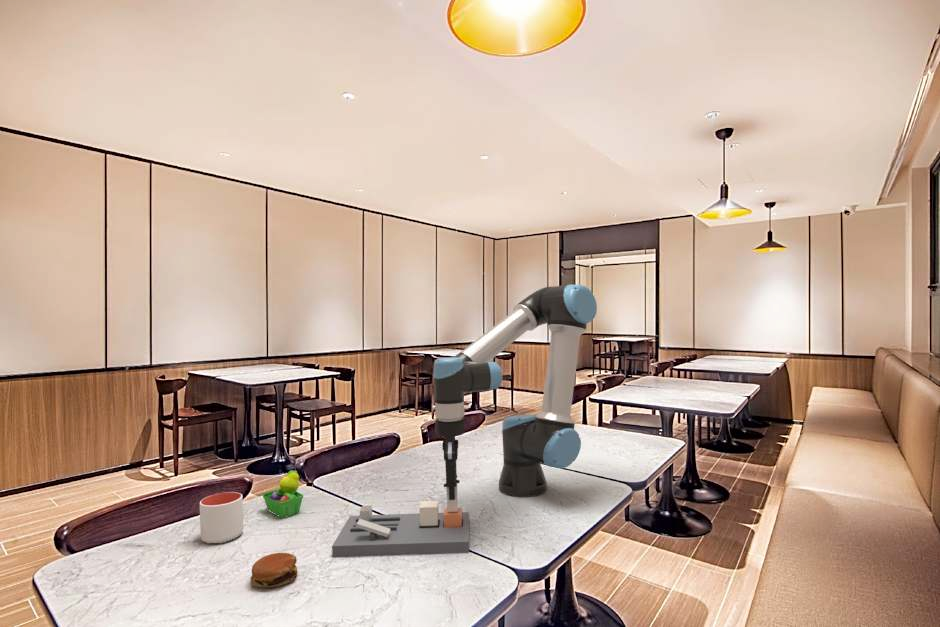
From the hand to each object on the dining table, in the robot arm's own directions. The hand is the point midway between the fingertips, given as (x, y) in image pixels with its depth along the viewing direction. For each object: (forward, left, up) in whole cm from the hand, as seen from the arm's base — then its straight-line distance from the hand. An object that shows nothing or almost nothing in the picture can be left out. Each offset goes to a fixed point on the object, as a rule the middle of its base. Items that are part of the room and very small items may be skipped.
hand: (452, 510), depth 130 cm
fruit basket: (+50, -18, -6) cm, 53 cm away
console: (+12, +2, -6) cm, 13 cm away
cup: (+60, -2, -6) cm, 60 cm away
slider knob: (+22, 0, -3) cm, 22 cm away
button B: (+6, 0, -3) cm, 7 cm away
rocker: (+19, +7, -1) cm, 20 cm away
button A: (0, 0, -5) cm, 5 cm away
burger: (+38, +20, -6) cm, 43 cm away
